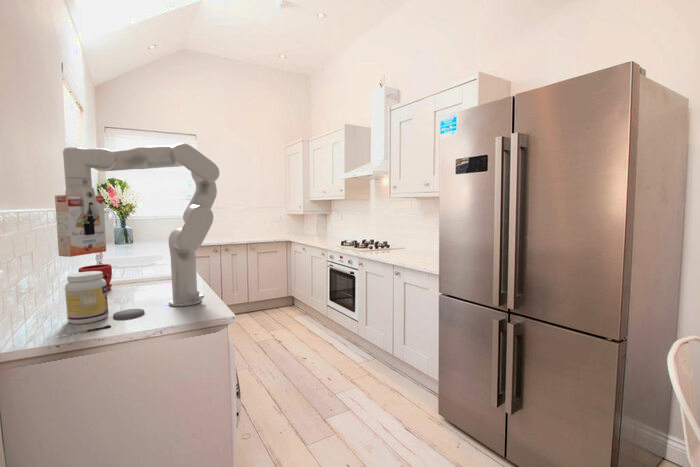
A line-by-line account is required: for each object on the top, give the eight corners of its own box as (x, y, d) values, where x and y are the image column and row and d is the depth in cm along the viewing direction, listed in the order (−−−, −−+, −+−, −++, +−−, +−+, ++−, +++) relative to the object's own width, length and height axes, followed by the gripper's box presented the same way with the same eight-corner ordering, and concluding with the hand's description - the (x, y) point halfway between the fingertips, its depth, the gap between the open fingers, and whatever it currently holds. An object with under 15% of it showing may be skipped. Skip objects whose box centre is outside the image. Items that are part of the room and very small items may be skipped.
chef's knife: (38, 340, 114) (37, 342, 111) (37, 336, 114) (37, 339, 111) (110, 326, 126) (111, 328, 123) (110, 323, 126) (111, 324, 123)
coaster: (150, 312, 140) (150, 309, 140) (127, 320, 130) (127, 317, 130) (130, 310, 143) (130, 307, 143) (106, 318, 133) (106, 315, 133)
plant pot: (112, 286, 184) (111, 262, 183) (113, 291, 173) (111, 266, 172) (80, 289, 177) (79, 265, 176) (79, 295, 166) (77, 269, 165)
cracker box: (72, 257, 122) (67, 194, 121) (58, 256, 124) (52, 195, 122) (108, 251, 136) (104, 195, 134) (94, 251, 137) (90, 195, 135)
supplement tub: (113, 318, 132) (110, 273, 131) (71, 327, 123) (68, 278, 122) (103, 312, 141) (100, 269, 139) (63, 319, 132) (60, 274, 130)
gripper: (107, 183, 129) (110, 234, 130) (72, 184, 134) (75, 233, 135) (86, 182, 121) (90, 236, 123) (50, 183, 127) (54, 235, 128)
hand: (82, 234), depth 129 cm, fingers closed on cracker box, 6 cm apart
